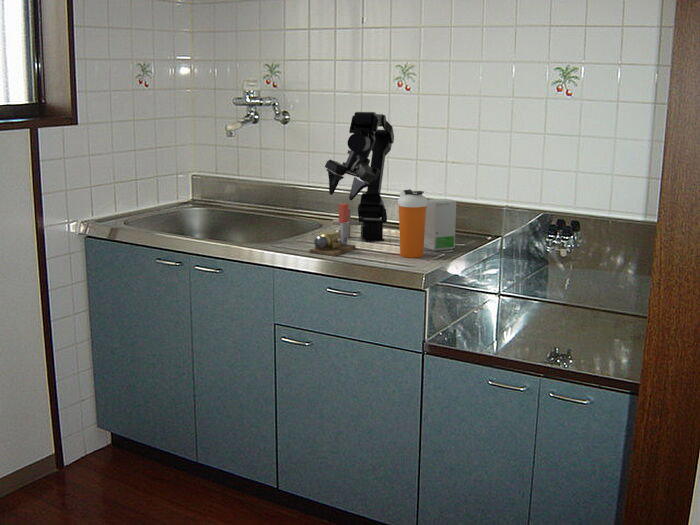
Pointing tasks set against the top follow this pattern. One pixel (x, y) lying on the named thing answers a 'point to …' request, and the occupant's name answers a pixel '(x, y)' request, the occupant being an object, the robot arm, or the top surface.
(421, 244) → the shaker bottle
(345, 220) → the valve lever
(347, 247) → the valve stand
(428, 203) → the skincare box
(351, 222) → the pipe connector
